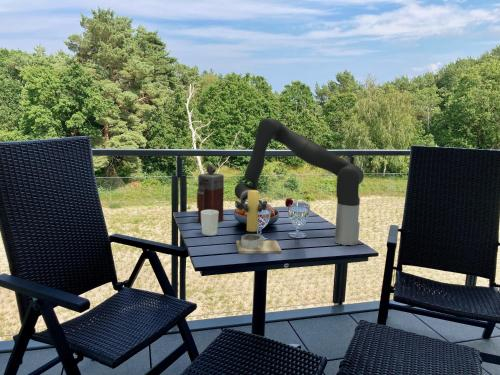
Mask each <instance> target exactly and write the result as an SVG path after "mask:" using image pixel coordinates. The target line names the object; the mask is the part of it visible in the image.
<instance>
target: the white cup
mask: <svg viewBox="0 0 500 375" xmlns="http://www.w3.org/2000/svg"><path fill="white" fill-rule="evenodd" d="M218 215H219V212H218V211H217V210H203V211H201V222H200V223H201V224H200V225H201V234H202V235H204V236H216V235H217V234H218V228H219V223H218Z"/></svg>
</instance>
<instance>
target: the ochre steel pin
mask: <svg viewBox="0 0 500 375" xmlns="http://www.w3.org/2000/svg"><path fill="white" fill-rule="evenodd" d="M259 201H260V191H259V190H258V189H257V190H249V191H248V212H246V231H247V232H253V233H254V232H257V231H258V229H259V228H258V227H259V226H258V225H259V212H258V206H259Z"/></svg>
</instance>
